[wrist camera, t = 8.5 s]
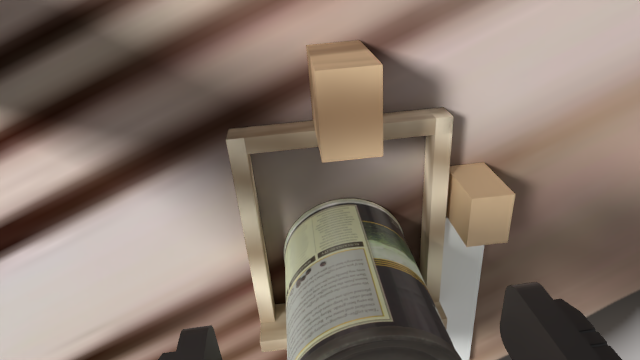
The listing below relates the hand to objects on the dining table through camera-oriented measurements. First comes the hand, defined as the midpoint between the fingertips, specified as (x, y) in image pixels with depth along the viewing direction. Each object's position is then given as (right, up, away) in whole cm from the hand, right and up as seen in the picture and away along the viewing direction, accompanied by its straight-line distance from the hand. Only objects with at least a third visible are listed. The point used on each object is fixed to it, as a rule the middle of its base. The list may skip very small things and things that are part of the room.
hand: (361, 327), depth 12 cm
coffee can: (+1, -2, +25) cm, 25 cm away
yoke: (+1, +3, +22) cm, 22 cm away
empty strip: (+11, -4, +27) cm, 29 cm away
